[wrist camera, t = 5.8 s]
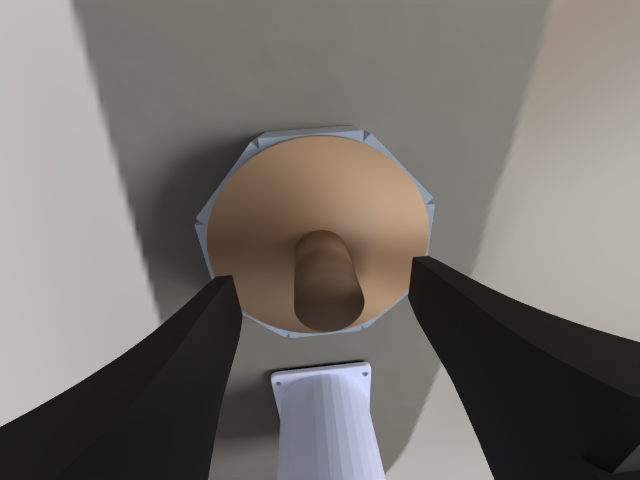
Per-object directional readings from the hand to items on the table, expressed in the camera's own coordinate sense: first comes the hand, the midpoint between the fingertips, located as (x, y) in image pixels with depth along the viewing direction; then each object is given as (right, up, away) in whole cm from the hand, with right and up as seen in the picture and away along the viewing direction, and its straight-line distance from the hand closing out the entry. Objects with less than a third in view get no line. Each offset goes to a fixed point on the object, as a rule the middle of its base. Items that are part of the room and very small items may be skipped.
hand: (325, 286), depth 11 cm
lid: (0, +2, +2) cm, 3 cm away
